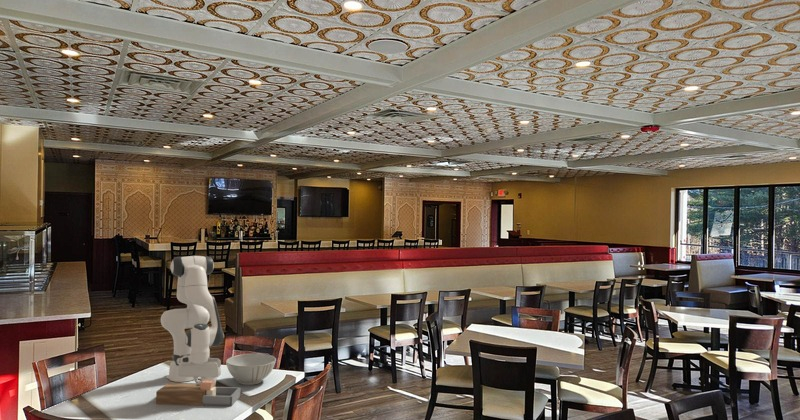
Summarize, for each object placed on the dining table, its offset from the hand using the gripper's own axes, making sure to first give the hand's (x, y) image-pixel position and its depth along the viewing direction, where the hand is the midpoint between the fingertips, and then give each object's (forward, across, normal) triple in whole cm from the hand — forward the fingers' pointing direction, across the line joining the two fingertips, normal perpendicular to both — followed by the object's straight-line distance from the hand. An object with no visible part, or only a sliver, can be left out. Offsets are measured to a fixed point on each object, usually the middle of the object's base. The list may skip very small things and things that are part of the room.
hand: (199, 385), depth 263 cm
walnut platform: (+7, +7, 0) cm, 10 cm away
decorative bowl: (+7, -17, -32) cm, 37 cm away
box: (+7, -12, 0) cm, 14 cm away
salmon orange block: (+1, -4, 0) cm, 4 cm away
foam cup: (+7, +1, -17) cm, 18 cm away
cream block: (+4, -4, 0) cm, 6 cm away
